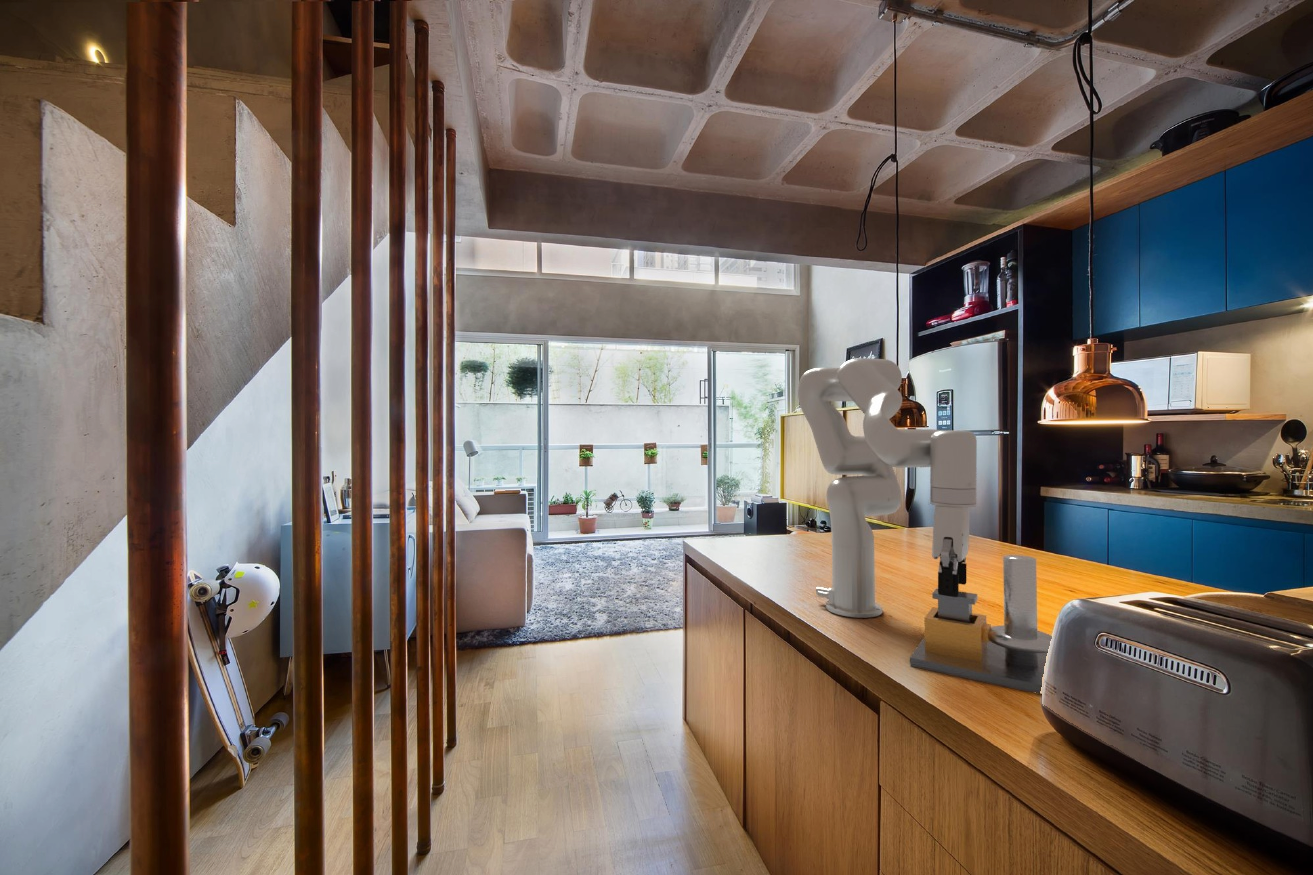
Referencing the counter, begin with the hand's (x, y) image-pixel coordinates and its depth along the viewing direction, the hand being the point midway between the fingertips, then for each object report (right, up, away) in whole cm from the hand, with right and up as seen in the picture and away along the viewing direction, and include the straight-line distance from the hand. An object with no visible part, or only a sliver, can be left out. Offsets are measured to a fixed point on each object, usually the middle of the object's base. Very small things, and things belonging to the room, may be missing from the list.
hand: (952, 589), depth 101 cm
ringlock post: (+3, -12, -3) cm, 13 cm away
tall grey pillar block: (0, -11, -1) cm, 11 cm away
